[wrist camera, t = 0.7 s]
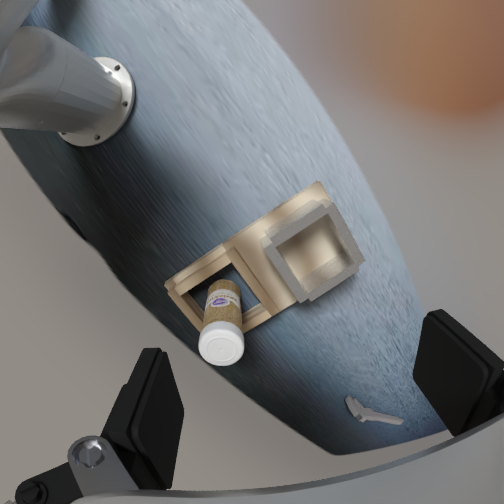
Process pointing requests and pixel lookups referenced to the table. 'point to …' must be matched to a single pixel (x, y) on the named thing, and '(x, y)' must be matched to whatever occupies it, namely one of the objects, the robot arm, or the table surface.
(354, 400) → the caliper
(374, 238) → the table surface
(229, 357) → the sprinkles bottle
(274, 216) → the stand board
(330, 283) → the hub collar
